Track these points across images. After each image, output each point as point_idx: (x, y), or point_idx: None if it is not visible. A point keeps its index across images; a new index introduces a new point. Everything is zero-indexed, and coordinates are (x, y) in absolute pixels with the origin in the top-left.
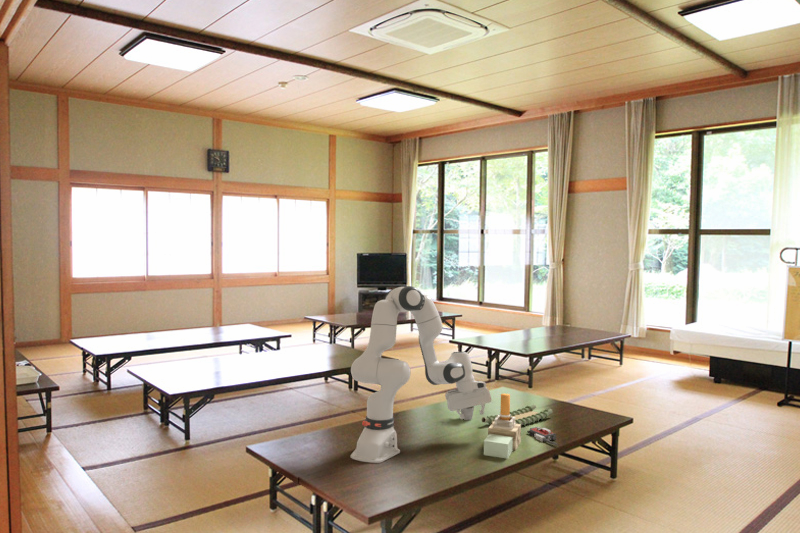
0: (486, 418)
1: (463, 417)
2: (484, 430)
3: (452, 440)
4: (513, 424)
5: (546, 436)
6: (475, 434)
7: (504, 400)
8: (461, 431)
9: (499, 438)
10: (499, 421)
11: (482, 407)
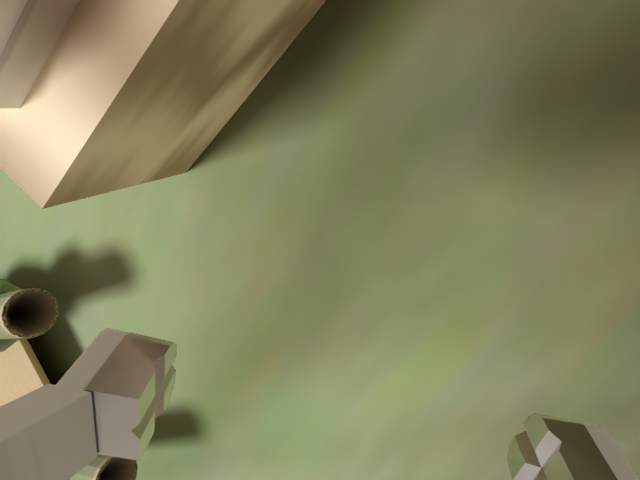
0: (85, 476)
1: (563, 434)
2: (181, 367)
3: (624, 276)
4: None
5: None
6: (296, 323)
7: None
8: (371, 431)
9: None
10: None
11: (8, 474)
